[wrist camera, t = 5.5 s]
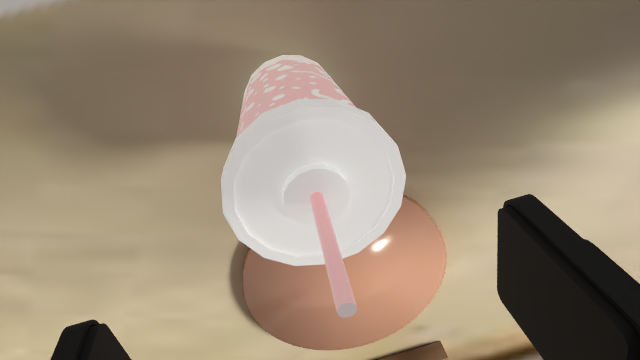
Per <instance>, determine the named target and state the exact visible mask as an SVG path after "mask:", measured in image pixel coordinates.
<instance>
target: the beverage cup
mask: <svg viewBox="0 0 640 360" xmlns="http://www.w3.org/2000/svg"><path fill="white" fill-rule="evenodd" d="M405 181H406V173H405V170H404V166H403V162H402V159H401V155H400V152H399V148H398V146H397V144H396V143H395V142H394V141H393V139H392V138H391V137H390V136H389V135H388V134H387V133H386V132H385V130H384V129H383V128H382V127H381V126H380V125H379V124H378V123H377V122H376V121H375V119H374V118H373V117H372V116H371V115H370V114H369V113H368V112H365V111H363V110H361V109H358V108H356V107H355V106H354V104H353V103H352V102H351V101H350V100H349V98H348V97H347V96H346V95H345V94H344V92H343V91H342V90H341V89H340V88H339V87H338V85H337V84H336V83H335V82H334V81H333V79H332V78H331V77H330V76H329V75H328V74H327V73H326V71H325V70H324V69H323V68H322V67H321V66H320V65H319V64H318V63H317V62H315V61H312V60H310V59H308V58H306V57H303V56H301V55H281V56H278V57H276V58H273V59H271V60H268V61H266V62H264V63H263V64H262V65H261V66H260V67H259V68H258V69H257V70H256V71H255V72H254V73H253V74H252V75H251V77H250V80H249V82H248V84H247V87H246V89H245V92H244V98H243V103H242V109H241V114H240V120H239V125H238V131H237V136H236V139H235V141H234V143H233V146H232V148H231V151H230V153H229V155H228V158H227V160H226V163H225V165H224V167H223V174H222V176H221V191H222V206H223V214H224V216H225V217H226V219H227V221H228V223H229V224H230V226H231V228H232V229H233V231H234V233H235V235H236V236H237V238H238V240H240V241H241V242H243V243H244V244H245V245H247V246H248V247H250V248H251V249H252V250H254V251H255V252H256V253H258V254H259V255H261V256H262V257H263V258H267V259H270V260H274V261H278V262H282V263H285V264H289V265H293V266H304V265H322V264H325V265H326V269H327V273H328V277H329V281H330V285H331V290H332V294H333V298H334V302H335V306H336V310H337V313H338V315H339V316H340V317H344V318H347V317H351V316H353V315H354V314H355V313H356V312H357V306H356V302H355V299H354V296H353V292H352V289H351V286H350V282H349V279H348V275H347V272H346V269H345V265H344V262H343V258H346V257H348V256H351V255H354V254H356V253H359V252H360V251H361V250H363V249H364V248H365V247H367V246H368V245H369V244H370V243H372V242H373V241H374V240H376V239H377V238H378V237H379V236H381V235H382V234H383V233H384V232H385V231H386V229H387V227H388V226H389V224H390V223H391V221H392V220H393V218H394V217H395V215H396V213H397V212H398V210H399V209H400V207H401V204H402V198H403V192H404V187H405Z"/></svg>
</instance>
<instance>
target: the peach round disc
mask: <svg viewBox="0 0 640 360" xmlns="http://www.w3.org/2000/svg"><path fill="white" fill-rule="evenodd" d="M343 262H344V265H345V269H346V272H347V275H348V279H349V282H350V286H351V289H352V292H353V296H354V299H355V302H356V306H357V312H356V313H355V314H354V315H353V316H351V317H347V318H344V317H340V316H339V315H338V313H337V310H336V306H335V302H334V298H333V294H332V290H331V285H330V281H329V277H328V273H327V269H326V265H325V264H322V265H304V266H293V265H289V264H285V263H282V262H278V261H274V260H270V259H267V258H263V257H262V256H261V255H259V254H258V253H256V252H255V251H254V250H252V249H251V248H249V250H248V253H247V255H246V258H245V263H244V267H243V291H244V298H245V301H246V304H247V307H248V309H249V311H250V313H251V315H252V316H253V317H254V319H255V320H256V321H257V323H258V324H259V325H260V326H261V327H262V328H263V329H264V330H265V331H267V332H268V333H270V334H271V335H273V336H274V337H276V338H278V339H280V340H282V341H284V342H286V343H289V344H292V345H295V346H298V347H302V348H308V349H315V350H341V349H348V348H354V347H358V346H363V345H366V344H369V343H372V342H375V341H378V340H380V339H383V338H385V337H387V336H389V335H391V334H393V333H395V332H396V331H398V330H400V329H401V328H403V327H404V326H406V325H407V324H408V323H410V322H411V321H412V320H414V319H415V318H416V317H417V316H418V315H419V314H420V313H421V312H422V311H423V310H424V309H425V308H426V307H427V306H428V304H429V303H430V302H431V300H432V299H433V297H434V296H435V294H436V293H437V291H438V289H439V287H440V285H441V282H442V279H443V277H444V273H445V268H446V249H445V244H444V241H443V238H442V235H441V233H440V231H439V230H438V228H437V226H436V224H435V223H434V221H433V220H432V218H431V217H430V216H429V215H428V213H427V212H426V211H425V210H424V209H423V208H422V207H421V206H420V205H418V204H417V203H416V202H415V201H413V200H411V199H410V198H408V197H407V196H404V195H403V198H402V204H401V207H400V209H399V210H398V212H397V213H396V215H395V217H394V218H393V220H392V221H391V223H390V224H389V226H388V227H387V229H386V231H385V232H384V233H383V234H382V235H381V236H379V237H378V238H377V239H376V240H374V241H373V242H372V243H370V244H369V245H368V246H367V247H365V248H364V249H363V250H361V251H360V252H359V253H356V254H354V255H351V256H348V257H346V258H343Z"/></svg>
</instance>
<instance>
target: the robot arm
mask: <svg viewBox="0 0 640 360" xmlns="http://www.w3.org/2000/svg"><path fill="white" fill-rule="evenodd" d="M497 290H498V294H499V297H500V299H501V301H502V303H503V304H504V306H505V307H506V308H507V310H508V311H509V313H510V314H511V315H512V317H513V318H514V319H515V321H516V322H517V324H518V325H519V326H520V328H521V329H522V330H523V332H524V333H525V335H526V336H527V337H528V339H529V340H530V341H531V343H532V344H533V345H534V347H535V348H536V350H537V351H538V352H539V354H540V355H541V356H542V358H543V359H544V360H640V284H639V283H638V282H637V281H636V280H634V279H633V278H632V277H631V276H630V275H629V274H628V273H626V272H625V271H624V270H623V269H622V268H621V267H620V266H618V265H617V264H616V263H615V262H614V261H613V260H611V259H610V258H609V257H608V256H607V255H606V254H605V253H603V252H602V251H601V250H600V249H599V248H598V247H596V246H595V245H594V244H593V243H591V242H590V241H588V240H585V239H583V238H581V237H580V236H579V235H578V234H577V233H576V232H575V231H573V230H572V229H571V228H570V227H569V226H568V225H567V224H566V223H564V222H563V221H562V220H561V219H560V218H559V217H558V216H556V215H555V214H554V213H553V212H552V211H551V210H550V209H548V208H547V207H546V206H545V205H544V204H543V203H542V202H541V201H539V200H538V199H537V198H536V197H535V196H533V195H531V194H528V195H524V196H521V197H517V198H514V199H510V200H507V201H505V203H504V206H503V208H502V209H499V211H498V252H497ZM51 360H131V359H130V357H129V356H128V354H127V353H126V351H125V350H124V349H123V347H122V346H121V344H120V343H119V342H118V340H117V339H116V337H115V336H114V334H113V333H112V332H111V330H110V329H109V327H108V326H107V325H106V324H104V323H103V324H99V323H98V322H97V321H96V320H89V321H86V322H82V323H79V324H75V325H72V326H68V327H66V328H65V329H64V330H63V332H62V333H61V336H60V338H59V341H58V343H57V346H56V348H55V350H54V353H53V355H52V358H51Z"/></svg>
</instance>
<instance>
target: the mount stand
mask: <svg viewBox="0 0 640 360" xmlns="http://www.w3.org/2000/svg"><path fill="white" fill-rule="evenodd" d="M378 360H448V356H447V354H446V352H445V350H444V348H443V346H442V344H441V342H440V341H438V342H435V343H432V344H428V345H425V346H422V347H418V348H415V349H411V350H408V351H405V352H401V353H398V354H395V355H391V356H388V357H385V358H381V359H378Z"/></svg>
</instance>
